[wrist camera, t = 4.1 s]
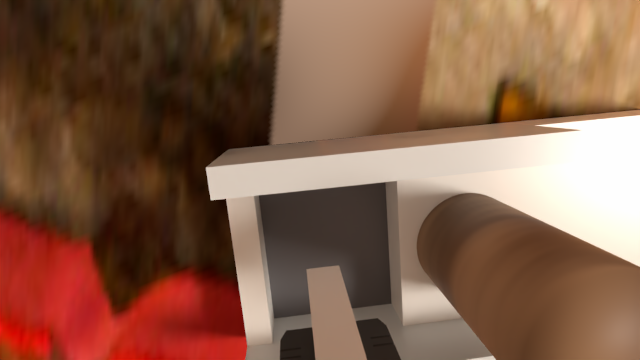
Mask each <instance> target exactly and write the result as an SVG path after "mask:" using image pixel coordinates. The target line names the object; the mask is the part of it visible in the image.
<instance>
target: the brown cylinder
mask: <svg viewBox="0 0 640 360" xmlns="http://www.w3.org/2000/svg"><path fill="white" fill-rule="evenodd" d="M417 255H418V259H419V262H420V264H421V267H422V268H423V270H424V271H425V273H426V274H427V275H428V276H429V278H430V279H431V280H432V281H433V282H434V284H435V285H436V286H437V287H438V289H439V290H440V291H441V292H442V294H443V295H444V296H445V297H446V299H447V300H448V301H449V302H450V303H451V305H452V306H453V307H454V308H455V310H456V311H457V312H458V313H459V315H460V316H461V317H462V318H463V319H464V321H465V322H466V323H467V324H468V326H469V327H470V328H471V329H472V331H473V332H474V333H475V334H476V336H477V337H478V338H479V339H480V340H481V342H482V343H483V344H484V345H485V347H486V348H487V349H488V350H489V352H490V353H491V354H492V355H493V356H494V358H495V359H496V360H640V267H639V266H637V265H635V264H633V263H631V262H629V261H627V260H624V259H622V258H620V257H618V256H616V255H614V254H612V253H609V252H607V251H605V250H603V249H601V248H599V247H597V246H594V245H592V244H590V243H588V242H586V241H584V240H582V239H579V238H577V237H575V236H573V235H571V234H569V233H567V232H564V231H562V230H560V229H558V228H556V227H554V226H552V225H549V224H547V223H545V222H543V221H541V220H539V219H537V218H534V217H532V216H530V215H528V214H526V213H524V212H522V211H519V210H517V209H515V208H513V207H511V206H509V205H507V204H504V203H502V202H500V201H498V200H496V199H494V198H492V197H489V196H487V195H483V194H479V193H464V194H459V195H456V196H452V197H450V198H448V199H446V200H444V201H443V202H441V203H440V204H438V205H437V206H436V207H435V208H434V209H433V210H432V211H431V212H430V213H429V214H428V215H427V217H426V218H425V220H424V221H423V223H422V225H421V228H420V230H419V233H418V238H417Z"/></svg>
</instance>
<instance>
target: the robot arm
mask: <svg viewBox="0 0 640 360" xmlns="http://www.w3.org/2000/svg"><path fill="white" fill-rule="evenodd" d="M306 270H307V280H308V290H309V300H310V310H311V320H312V327H311V328H303V329H295V330H287V331H286V332H285V333H284V335H283V337H282V338H281V340H280V360H401V358H400V356H399V353H398V351H397V349H396V346H395V344H394V342H393V339H392V337H391V335H390V332H389V330H388V328H387V325H385V324H384V323H383V322H382V321H381V320H379V319H378V318H374V319H366V320H358V321H355V318H354V314H353V311H352V308H351V304H350V301H349V297H348V294H347V291H346V287H345V284H344V281H343V277H342V274H341V271H340V267H339V265H338V266H329V267H320V268H312V269H306Z"/></svg>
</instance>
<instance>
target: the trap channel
mask: <svg viewBox="0 0 640 360" xmlns="http://www.w3.org/2000/svg"><path fill="white" fill-rule="evenodd" d="M206 173H207V179H208V186H209V192H210V199H211V200H220V199H226V202H227V209H228V216H229V223H230V230H231V237H232V243H233V250H234V257H235V264H236V271H237V278H238V285H239V291H240V298H241V305H242V312H243V319H244V326H245V333H246V340H247V346H248V347H247V353H246V359H245V360H280V340H281V338H282V337H283V335H284V333H285V332H286V331H287V330H295V329H303V328H311V327H312V320H311V310H310V300H309V290H308V280H307V270H306V269H312V268H320V267H329V266H338V265H339V267H340V271H341V274H342V277H343V281H344V284H345V287H346V291H347V294H348V297H349V301H350V304H351V308H352V311H353V314H354V318H355V321H358V320H366V319H374V318H378V319H379V320H381V321H382V322H383V323H384V324H385V325H387V328H388V330H389V332H390V335H391V337H392V339H393V342H394V344H395V346H396V349H397V351H398V353H399V356H400V358H401V360H496V359H495V358H494V356H493V355H492V354H491V353H490V352H489V350H488V349H487V348H486V347H485V345H484V344H483V343H482V342H481V340H480V339H479V338H478V337H477V336H476V334H475V333H474V332H473V331H472V329H471V328H470V327H469V326H468V324H467V323H466V322H465V321H464V319H463V318H462V317H461V316H460V315H459V313H458V312H457V311H456V310H455V308H454V307H453V306H452V305H451V303H450V302H449V301H448V300H447V299H446V297H445V296H444V295H443V294H442V292H441V291H440V290H439V289H438V287H437V286H436V285H435V284H434V282H433V281H432V280H431V279H430V278H429V276H428V275H427V274H426V273H425V271H424V270H423V268H422V267H421V264H420V262H419V259H418V255H417V238H418V233H419V230H420V228H421V225H422V223H423V221H424V220H425V218H426V217H427V215H428V214H429V213H430V212H431V211H432V210H433V209H434V208H435V207H436V206H437V205H438V204H440V203H441V202H443V201H444V200H446V199H448V198H450V197H452V196H456V195H459V194H464V193H479V194H483V195H487V196H489V197H492V198H494V199H496V200H498V201H500V202H502V203H504V204H507V205H509V206H511V207H513V208H515V209H517V210H519V211H522V212H524V213H526V214H528V215H530V216H532V217H534V218H537V219H539V220H541V221H543V222H545V223H547V224H549V225H552V226H554V227H556V228H558V229H560V230H562V231H564V232H567V233H569V234H571V235H573V236H575V237H577V238H579V239H582V240H584V241H586V242H588V243H590V244H592V245H594V246H597V247H599V248H601V249H603V250H605V251H607V252H609V253H612V254H614V255H616V256H618V257H620V258H622V259H624V260H627V261H629V262H631V263H633V264H635V265H637V266H639V267H640V110H631V111H621V112H610V113H600V114H590V115H579V116H569V117H558V118H548V119H538V120H527V121H517V122H506V123H496V124H485V125H475V126H465V127H454V128H444V129H433V130H423V131H413V132H402V133H392V134H382V135H372V136H361V137H350V138H340V139H330V140H320V141H309V142H298V143H288V144H278V145H267V146H257V147H246V148H236V149H228V150H227V151H226V152H224V153H223V154H222V155H221V156H219V157H218V158H217V159H216V160H214V161H213V162H212V163H211V164H209V165H208V166H207V167H206Z"/></svg>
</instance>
